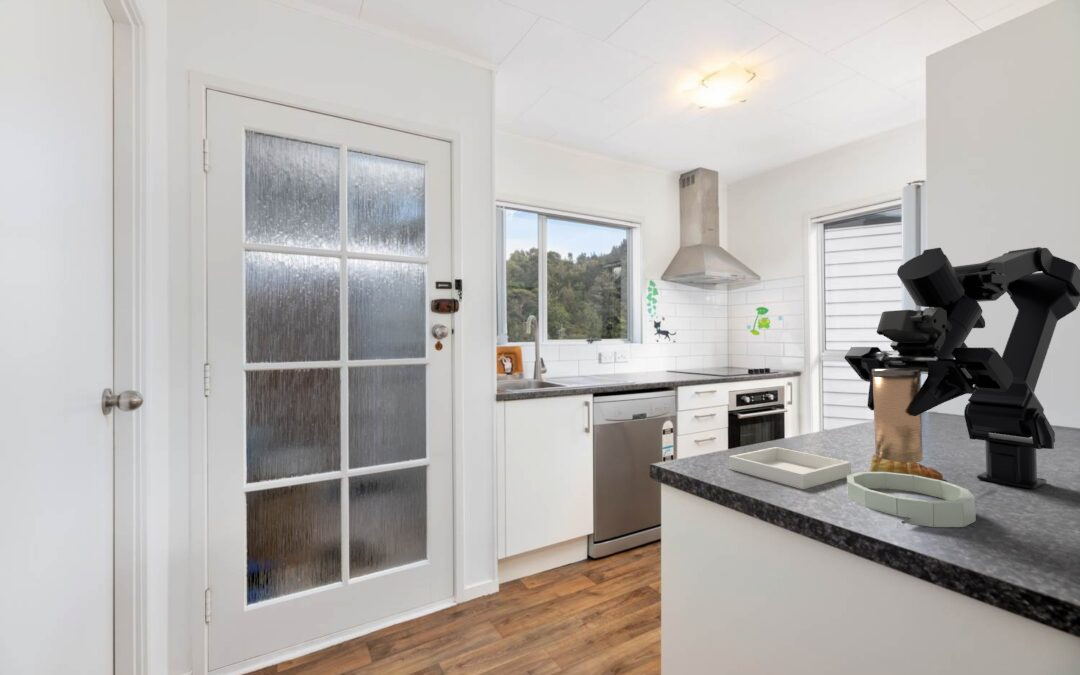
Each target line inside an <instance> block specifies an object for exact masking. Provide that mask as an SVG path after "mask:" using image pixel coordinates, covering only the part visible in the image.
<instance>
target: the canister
mask: <svg viewBox="0 0 1080 675" xmlns="http://www.w3.org/2000/svg"><path fill="white" fill-rule="evenodd" d="M872 375H873V398H874V410H873V422H874V423H873V424H874V450H875V451H874V452H875V453H874V454H875V455H876V456H877V457H878V458H881V459H885V460H890V461H897V462H910V463H913V462H916V463H920V462H923V461H924V457H923V456H924V454H923V453H924V452H923V425H922V424H923V422H922V413H921V414H919V415H917V416H912V415H911V414H910V413H909V408H910V406H911V404H912V402H913V400H914V398H915V397H916V395H917V393H918V392H919V390H920V388H921V376H922V374H921V369H912V368H874V369H872Z"/></svg>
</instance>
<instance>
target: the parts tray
mask: <svg viewBox="0 0 1080 675" xmlns="http://www.w3.org/2000/svg"><path fill="white" fill-rule="evenodd" d="M728 468H729V470H731V471H735V472H739V473H741V474H746V475H750V476H753V477H757V478H760V479H763V480H768V481H770V482H774V483H778V484H782V485H786V486H789V487H792V488H793V487H794V488H797V489H800V490H806V489H810V488H813V487H817V486H821V485H824V484H828V483H830V482H834V481H837V480H838V481H839V480H842V479H847V475H851V474H852V462H851V461H847V460H841V459H838V458H831V457H827V456H822V455H817V454H812V453H808V452H803V451H798V450H794V449H793V450H792V449H788V448H783V447H780V446H779V447H778V446H774V447H768V448H763V449H758V450H755V451H747V452H744V453H739V454H734V455H729V456H728Z"/></svg>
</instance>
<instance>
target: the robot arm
mask: <svg viewBox="0 0 1080 675" xmlns="http://www.w3.org/2000/svg"><path fill="white" fill-rule="evenodd" d="M897 276H898V278H899V279H900V281H901V283H902V284H903V287H905V289H906V291H907V293H908V294H909V295H910V297H911V299H912V301H914V304H915V305H916V306H918V307H923V308H924V309H922V310H920V309H919V310H914V309H901V310H899V309H898V310H886V311H885V310H884V311H883V312H881V316H880V319H879V321H878V322H879V323H878V325H877V328H876V329H877V330H876V334H877V335H879V336H883V337H884V338H887V339H888V340H890V341H892V342H891V343H890V345H889V346H890V347H891V349H892V350H893V351H894V352H898V354H897V355H896V354H895V355H891V354H887V353H886V352H883V351H882V350H881V348H880V347H878V346H851V347H850V349H849V350H848V351H847V352H846V354H845V356H844V357H843V358H844V359H845V361H846V362H847V363H848V365H850V367H851V368H852V370H853V371H854V372H855V373H856V374H857V375H858V377H859V378H860V379H861V380H863V381H865V382H867V383H868V382H869V386H868V396H867V408H868V409H869V410H870V411H874V398H873V375H872V369H874V368H912V369H921V375H927V376H926V379H925V380H924V382H923V384H922V385H921V386H920V390H919V392H918V393H917V395H916V397H915V398H914V400H913V402H912V404H911V406H910V408H909V413H910V414H911V415H912V416H917V415H919V414H921V415H922V414H924V413H925V412H926V411H929V410H932V409H934V408H936V407H938V406H940V405H942V404H943V403H946V402H950V401H952V400H953V399H956V398H958V397H961V396H964V395H967V394H969V395H970V397H969V398H968V400H967V401H968V403H967V404H966V405H965V407H964V411H963V413H964V415H963V416H964V421H965V424H966V428H967V431H968V432H967V434H968V437H969V439H970V440H975V441H976V440H979V441H984V443H985V444H984V445H985V446H984V447H985V448H984V449H985V472H982V473H979V474H977V475H976V479H979V480H984V481H988V482H993V483H999V484H1004V485H1010V486H1013V487H1014V486H1015V487H1020V488H1023V489H1024V488H1025V489H1031V490H1034V489H1036V488H1038V487H1040V486H1042V485H1044V484H1047V478H1046V479H1045V478H1039V477H1038V468H1037V466H1038V464H1037V461H1038V460H1037V450H1045V449H1047V450H1053V449H1055V448H1054V447H1055V442H1056V438H1055V436H1056V432H1055V430H1054V429H1053V427H1052V424H1050V422H1049V420H1048V418H1047V417H1046V415H1045V413H1044V412H1045V411H1044V410H1045V409H1044V407H1043V405H1042V403H1041V401H1040V400H1039V399H1038V396H1037V395H1036V394H1035V390H1036V387H1037V383H1038V381H1039V378H1040V375H1041V372H1042V369H1043V365H1044V363H1045V359H1046V356H1047V354H1048V350H1049V348H1050V345H1051V341H1052V339H1053V335H1054V332H1055V329H1056V326H1057V323H1058V321H1059V320H1061V319H1063V318H1065V317H1066V316H1068V315H1070V314H1071V313H1072V312H1074V311H1076V310H1077V308H1078V306H1079V304H1080V268H1079V267H1078V265H1077V264H1076V263H1074V262H1072V261H1069V260H1066V259H1064V258H1061V257H1058V256H1055V255H1053V253H1052V252H1051V250H1049V248H1047V247H1041V246H1037V247H1029V248H1023V249H1022V248H1021V249H1016V250H1015V249H1014V250H1009V251H1008V252H1005V253H1003V254H1002V255H1000V256H996V257H995V258H992V259H989V260H986V261H984V262H980V263H970V264H963V265H957V266H953V264H952V263H951V262H950V259H949V258H948V256H947V255H946V254H945V253H944V251H943V249H942V247H935V248H934V247H933V248H928V249H924V250H923V251H922V253H921V254H919V255H917V256H915V257H913V258H910V259H908V261H906V262H905V263H903V264H900V266H899V267H898V268H897ZM1006 293H1007V294H1008V296H1009V298H1010V300H1011V301H1012V303H1013V305H1014V306H1015V307H1016V309H1017V313H1016V316H1015V320H1014V323H1013V325H1012V328H1011V330H1010V333H1009V337H1008V339H1007V341H1006V344H1005V347H1004V350H1003V353H1002V355H1001V354H1000V353H999V352H998V350H996V348H994V347H968V345H967V344H966V342H965V341H966V340H967V338H968V336H969V335H970V333H971V332H972V330H973V329H984V328H986V320H985V318H984V316H983V315H982V314H983V309H982V307H981V306H980V304H979V302H980V303H981V302H983V303H984V302H992V301H995V302H996V301H997V300H998V299H999V298H1001V297H1002V296H1003V295H1004V294H1006Z"/></svg>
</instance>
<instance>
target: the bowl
mask: <svg viewBox="0 0 1080 675" xmlns="http://www.w3.org/2000/svg"><path fill="white" fill-rule="evenodd" d="M873 489H891V490H898V491H906V492H907V491H908V492H914V493H919V494H923V495H926V496H932V497H934V498H940V499H941V500H939V499H938V500H934V499H933V500H928V499H918V498H912V497H906V496H905V497H904V496H899V495H898V496H897V495H893V494H889V493H885V492H880V491H877V490H873ZM846 492H847V499H849V500H852V502H855V503H857V504H859V505H861V506H862V507H865V508H867V509H871V510H875V511H878V512H880V513H881V512H882V513H886V514H889V515H893V516H897V517H901V518H902V517H903V518H907V519H905V520H902V521H901V523H903V524H909V525H910V524H911V525H917V526H923V527H931V528H965V527H967V526H969V525H970V524H971V525H972V523H973V524H974V522H976V521H977V518H976V514H977V513H976V497H975V495H974V494H973V493H971V492H970V490H969V489H968V488H965V487H962V486H959V485H956V484H953V483H951V482H948V481H944V480H943V481H941V480H936V479H931V478H926V477H921V476H917V475H910V474H900V473H891V472H869V471H859V472H855V473H851V475H847V477H846Z"/></svg>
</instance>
